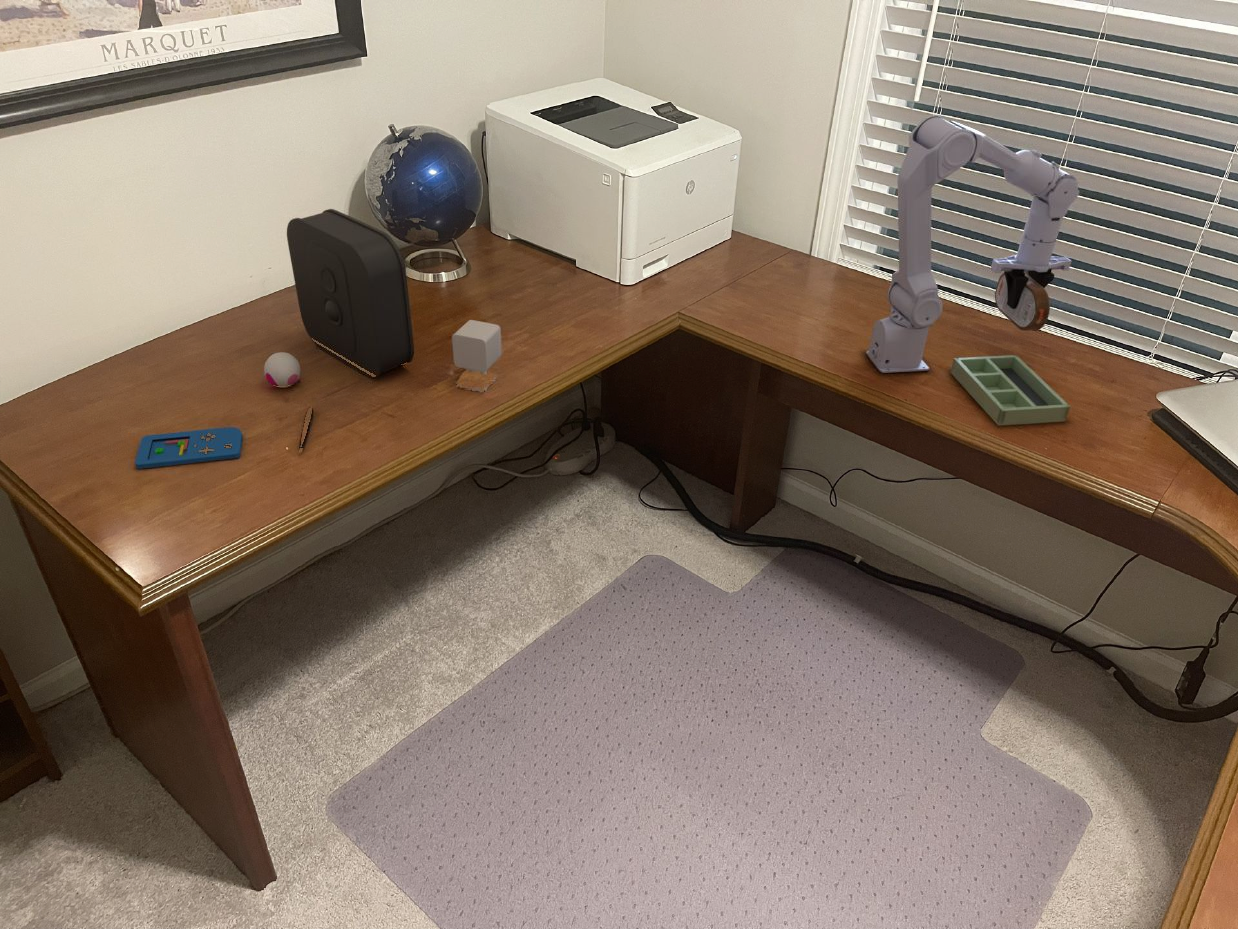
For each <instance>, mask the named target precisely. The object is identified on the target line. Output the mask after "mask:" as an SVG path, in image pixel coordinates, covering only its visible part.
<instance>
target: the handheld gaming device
mask: <svg viewBox="0 0 1238 929" xmlns="http://www.w3.org/2000/svg"><path fill="white" fill-rule="evenodd" d="M208 433H210V434H211V436H212V435H215V436H216V437H215V438H211V436H207V434H208ZM202 436H204V437H205V439H201V437H202ZM206 438H210V440H209V441H206ZM243 439H244V435H243V432H242V430H241V429H240V428H238V427H234V426H226V427H215V428H205V429H198V430H197V429H196V430H185V431H177V432H168V433H167V432H166V433H157V434H148V435H144V436H142V437H141V439H140V443H139V446H138V450H137V453H136V457H135V461H134V464H135V468H136V469H139V470H141V469H142V470H143V469H151V468H160V467H169V466H176V465H177V466H178V465H187V464H196V463H205V462H214V461H223V460H232V459H238V458H240V457H241V454H242V446H243ZM195 444H196V445H197V446H196V447H194V445H195ZM225 444H232V446H230V445H225ZM206 446H207V447H208V449H214V451H207V454H205V452H199V450H204V449H206ZM224 446H229V447H231V448H226V447H224Z"/></svg>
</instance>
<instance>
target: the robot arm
mask: <svg viewBox="0 0 1238 929" xmlns="http://www.w3.org/2000/svg"><path fill="white" fill-rule="evenodd" d="M1042 156H1043V154H1042V153H1041V152H1039V151H1037V150H1035V149H1031V151H1030V150H1027V149H1022V150H1019V151H1017V152H1014V151H1012V150H1011V149H1009V148H1008V147H1006V146H1005V145H1003V144H1001V143H1000V142H998V141H996V140H994V139H993V138H991V137H990V136H988V135H986V134H985V133H983V132H981V131H979V130H977V129H975V128H972V127H970V126H967V125H964V124H962V123H959V122H957V121H954V120H952V119H951V120H947V119H946V118H945V117H943V116H942V115H938V114H937V115H936V114H933V115H932V114H931V115H929V116H927V117H925V118H924V119H922V120H921V121H920V122H919V123H918V124H917V125H916V127H914V129H913V130H912V131H911V132H910V133H909V134H908V149H907V151H906V154H905V156H904V159H903V161H902V163H901V166H900V169H899V171H898V175H897V219H898V220H897V221H898V222H897V226H898V228H897V229H898V230H897V232H898V269H897V270H896V271H894V272H893V273H892V274H891V283H890V286H889V288H888V290H887V294H886V295H887V297H886V298H887V301H888V303H889V304H890V305H891V307H890V315H889V316H887V317H885V318H881V319H878V320H877V319H876V321H875V322H874V323H873V327H872V331H871V335H870V337H871V338H870V340H869V341H870V342H869V346H868V350H866V353H865V354H866V356H868V358H869V360H871V362H872V363H873V364H874V366H875V367H876V368H877V370H878V371H879V372H880V373H882V374H887V373H888V374H889V373H890V374H891V373H907V372H928V371H929V370H930V366H928V364H926V363H925V361H924V360H923V355H924V351H925V347H926V343H927V338H928V335H929V332H930V328H931V327H932V325H933V324H934V323H936V322H937V320H939V318H940V317H941V315H942V312H943V309H944V308H943V306H944V305H943V302H942V299H941V298H940V297H939V296H940V295H939V287H938V285H937V282H936V280H935V278H934V276H933V273H932V190H933V187H934V186H935V185H938V184H939V183H940V182H942V181H944V180H945V179H947V178H948V177H949V176H951V175H952V174H954V173H955V172H957V171H959V169H961V168H963V167H964V166H965V165H966V164H967V163H968V162H969V163H971V164H973V163H975V162H976V161H977V159H978V158H979V159H981V160H983V161H985V162H987V163H989V164H991V165H994V166H995V167H997V168H999V169H1001V170H1003V176H1004V179H1005V181H1006V182H1007V183H1009V184H1011V185H1012V186H1015V187H1016V188H1018V189H1020V190H1022V191H1023V192H1026V193H1027V194H1029V195H1031V196H1032V201H1031V204H1030V207H1029V211H1028V215H1027V217H1026V222H1025V225H1024V228H1023V232H1022V235H1021V239H1020V242H1019V246H1018V249H1017V253H1016V254H1014V255H1011V256H1010V255H1009V256H1005V257H1002V258H993V259H992V261H991V265H990V270H991V271H992V272H994V273H995V274H1001V273H1002V272H1003V273H1004V274H1005V278H1006V282H1007V292H1008V298H1007V305H1008V306H1009V307H1011V308H1012V309H1016V307H1017V305H1018V302H1019V299H1020V296H1021V293H1022V291H1023V289H1024V287H1025V285H1026V283H1027V282H1028V281H1029V279H1028V278H1027V277H1026V276H1025V273H1026V271H1027V275H1029V276H1030V277H1031V278H1032V279H1033V280H1035V281H1036V282H1037V283H1038V284H1040V285H1041V286H1042V287H1043V288H1044V289H1045V288H1046V287H1047V286H1048V285H1049V284H1050V283H1052V282H1053V281H1054V279H1055V274H1054V273H1053V272H1052V271H1054V270H1062V271H1064V272H1066V271H1068V272H1069V270H1070V268H1071V264H1072V259H1070V258H1069V257H1067V256H1056V255H1053V252H1054V248H1055V245H1056V241H1057V239H1058V236H1059V233H1060V229H1061V225H1062V223H1063V219H1064V217H1065V216H1066V214H1067V215H1068V211H1069V208H1070V207H1071V205H1072V204H1073V203H1074V202H1075V201H1076V200H1077V198H1078V197H1079V195H1080V192H1081V191H1080V190H1079V185H1078V184H1079V182H1078V179H1077V178H1076V177H1075V175H1072V174H1071V173H1069V172H1066V171H1064V170H1063V169H1061V168H1060V167H1061V166H1060V164H1058V163H1056V162H1055V161H1051V162H1049V161H1048V160H1045V159H1043V158H1042ZM1024 272H1025V273H1024Z"/></svg>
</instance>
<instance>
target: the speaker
mask: <svg viewBox="0 0 1238 929" xmlns="http://www.w3.org/2000/svg"><path fill="white" fill-rule="evenodd" d="M286 240H287V245H288V251H289V257H290V263H291V270H292V274H293V280H294V286H295V291H296V296H297V301H298V307H299V312H300V318H301V321H302V324H303V327H304V329H305V331H306V333H307V335H308V337H309V336H310V337H311V338H313V339H314V340H316V341H318V342H319V343H321V344H323V345H324V346H326V347H328V348H329V349H331V350H333V351H334V352H336V353H338V354H339V355H342V356H343V357H345V358H346V359H348V360H350V361H351V362H354V363H355V364H357V365H358V366H360V367H361V368H364V369H365V370H367V371H369V372H370V373H373V374H374V375H376V376H378V375H379V376H380V375H381V374H383V373H385V372H384V371H386V372H388V371H390V370H393V369H395V368H397V367H396V366H398V367H404V366H406V365H401V364H404V363H406V362H407V363H409V362H410V363H412V361H413V359H414V356H415V346H414V345H415V344H414V335H413V334H414V333H413V326H412V325H413V324H412V315H411V306H410V298H409V297H410V296H409V286H408V277H407V271H406V264H405V261H404V257H403V255H402V253H401V251H400V248H399V247H398V245H397V244H396V242H395V240H394V239H393V238H392V237H391V236H390V235H389V234H388V233H387V232H384V231H383V230H381V229H379V228H377V227H375V226H372V225H370V224H368V223H366V222H363V221H361V220H359V219H357V218H354V217H352V216H350V215H349V214H345V213H343V212H341V211H339V210H336V209H333V208H328V209H325V210H324V211H323V210H322V212H320V213H317V214H313V215H309V216H305V217H295V218H292V219H290V220H289V222H288V223H287V226H286ZM310 337H309V338H310ZM311 338H310V339H311ZM311 341H312V343H313V344H314V345H315V346H316V347H317V348H318V349H320V350H321V351H323V352H324V353H326V354H328V355H330V356H331V357H333V358H334V359H336V360H337V361H339V362H341V363H343V364H344V365H346V366H347V367H349V368H351V369H352V370H354V371H356V372H358V374H359V373H360V374H361V375H362V376H364V377H366V378H368V379H375V378H374V377H372V376H371V375H369V374H367V373H366V372H364V371H362V370H360V369H359V368H357V367H356V366H354V365H352V364H351V363H349V362H347V361H346V360H344V359H342V358H341V357H339V356H337V355H336V354H334V353H332V352H331V351H329V350H327V349H326V348H324V347H322V346H321V345H319V344H317V343H316V342H314V341H313V340H311ZM410 363H409V364H410ZM399 365H400V366H399ZM394 367H395V368H394ZM392 368H393V369H392ZM389 369H390V370H389ZM387 370H388V371H387ZM382 372H383V373H382ZM379 376H378V377H379Z"/></svg>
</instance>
